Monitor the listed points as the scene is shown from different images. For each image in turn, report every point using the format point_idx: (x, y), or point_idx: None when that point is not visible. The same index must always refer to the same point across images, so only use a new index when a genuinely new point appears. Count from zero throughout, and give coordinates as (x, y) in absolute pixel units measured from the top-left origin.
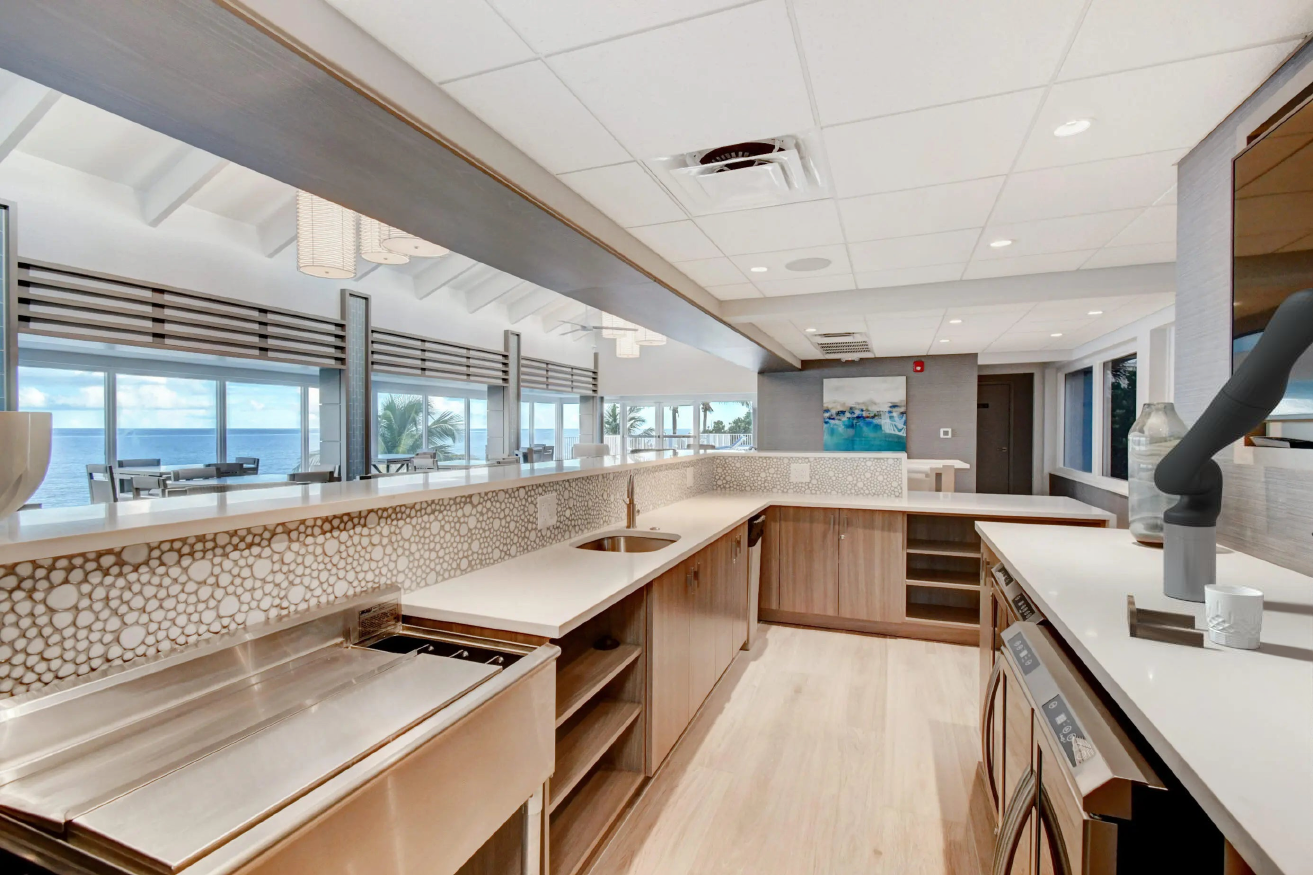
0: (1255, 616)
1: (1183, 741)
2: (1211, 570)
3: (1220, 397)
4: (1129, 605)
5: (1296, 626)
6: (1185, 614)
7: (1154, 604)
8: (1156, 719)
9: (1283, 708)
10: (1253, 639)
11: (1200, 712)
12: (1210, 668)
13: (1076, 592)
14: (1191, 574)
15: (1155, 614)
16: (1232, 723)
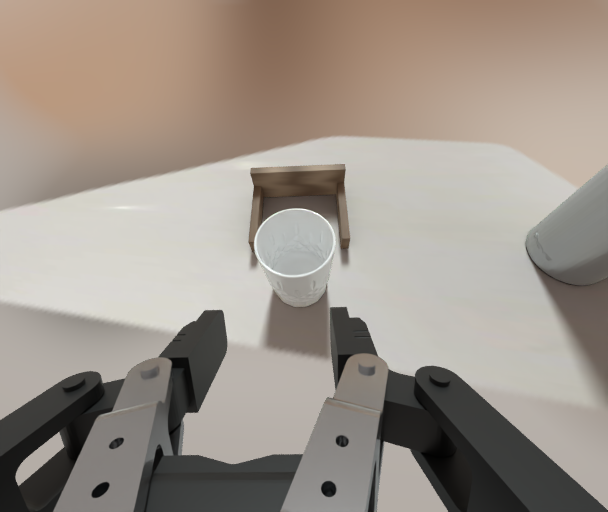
0: (270, 281)
1: None
2: (606, 248)
3: None
4: (279, 167)
5: (482, 379)
6: (348, 229)
7: (455, 213)
8: (12, 210)
9: (63, 297)
10: (278, 294)
11: (35, 236)
12: (171, 252)
13: (442, 143)
14: (564, 226)
15: (338, 204)
16: (14, 255)
